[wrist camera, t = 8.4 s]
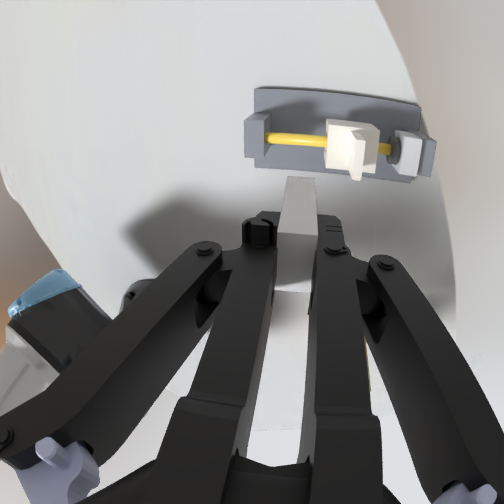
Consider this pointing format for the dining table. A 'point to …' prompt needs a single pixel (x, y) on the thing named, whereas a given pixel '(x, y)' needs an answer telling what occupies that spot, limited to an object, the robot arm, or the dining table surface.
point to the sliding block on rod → (314, 140)
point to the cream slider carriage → (351, 147)
